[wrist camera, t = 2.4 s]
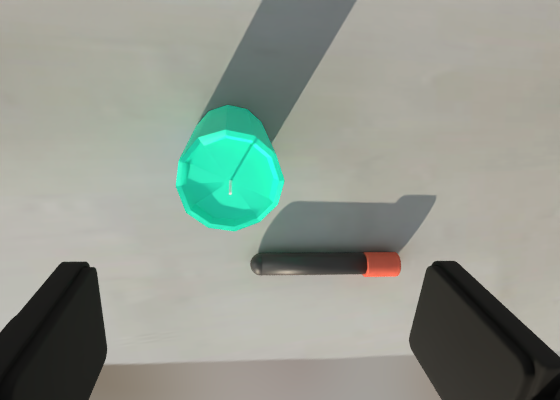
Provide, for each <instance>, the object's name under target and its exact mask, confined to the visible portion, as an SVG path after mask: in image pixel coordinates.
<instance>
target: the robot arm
mask: <svg viewBox="0 0 560 400" xmlns="http://www.w3.org/2000/svg"><path fill="white" fill-rule="evenodd" d="M409 343H410V347H411V349H412V351H413V353H414V355H415V356H416V358H417V360H418V361H419V363H420V365H421V366H422V368H423V369H424V371H425V373H426V374H427V376H428V378H429V379H430V381H431V383H432V384H433V386H434V387H435V389H436V391H437V393H438V394H439V396H440V398H441V399H442V400H560V357H559V356H558V355H557V354H556V353H555V352H554V351H553V350H551V349H550V348H549V347H548V346H547V345H546V344H545V343H544V342H543V341H542V340H541V339H540V338H538V337H537V336H536V335H535V334H534V333H533V332H532V331H531V330H530V329H529V328H528V327H527V326H525V325H524V324H523V323H522V322H521V321H520V320H519V319H518V318H517V317H516V316H515V315H514V314H512V313H511V312H510V311H509V310H508V309H507V308H506V307H505V306H504V305H503V304H502V303H501V302H499V301H498V300H497V299H496V298H495V297H494V296H493V295H492V294H491V293H490V292H489V291H488V290H486V289H485V288H484V287H483V286H482V285H481V284H480V283H479V282H478V281H477V280H476V279H475V278H474V277H472V276H471V275H470V274H469V273H468V272H467V271H466V270H465V269H464V268H463V267H462V266H461V265H459V264H458V263H457V262H455V261H435V262H433V264H432V265H431V266H429V267H428V268H427V270H426V273H425V277H424V281H423V285H422V289H421V293H420V297H419V301H418V305H417V309H416V313H415V317H414V321H413V325H412V329H411V333H410V337H409ZM106 354H107V343H106V336H105V329H104V321H103V314H102V307H101V299H100V292H99V285H98V277H97V271H96V269H95V268H94V267H90V266H89V264H88V263H87V262H62V263H61V264H60V265H59V266H58V267H57V268H56V269H55V271H54V272H53V273H52V274H51V275H50V276H49V278H48V279H47V280H46V281H45V282H44V284H43V285H42V286H41V287H40V288H39V290H38V291H37V292H36V293H35V294H34V296H33V297H32V298H31V299H30V300H29V301H28V303H27V304H26V305H25V306H24V307H23V309H22V310H21V311H20V312H19V313H18V315H16V316H15V317H14V318H13V319H12V320H10V322H9V323H8V324H7V325H6V326H5V327H4V329H3V330H2V331H1V332H0V400H89V397H90V395H91V393H92V390H93V388H94V386H95V383H96V381H97V379H98V376H99V374H100V372H101V369H102V367H103V364H104V362H105V359H106Z"/></svg>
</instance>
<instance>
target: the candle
mask: <svg viewBox="0 0 560 400" xmlns="http://www.w3.org/2000/svg"><path fill="white" fill-rule="evenodd" d="M283 184H284V177H283V174H282V171H281V168H280V165H279V162H278V159H277V156H276V153H275V151H274V149H273V147H272V144H271V142H270V140H269V138H268V136H267V133H266V131H265V129H264V127H263V124H262V122H261V121H260V120H259V119H258V118H256V117H255V116H254V115H253V114H252V113H251V112H250V111H249V110H248V109H245V108H240V107H236V106H231V105H225V106H222V107H219V108H216V109H213V110H210V111H208V113H207V114H206V115H205V116H204V117H203V119H202V120H201V121H200V122H199V123H198V125H197V126H196V128H195V130H194V132H193V134H192V136H191V138H190V139H189V141H188V143H187V145H186V147H185V149H184V151H183V153H182V155H181V157H180V159H179V162H178V171H177V180H176V188H177V191H178V193H179V196H180V198H181V201H182V203H183V206H184V208H185V211H186V213H187V214H189V215H190V216H192V217H193V218H195V219H196V220H198V221H199V222H201V223H202V224H204V225H205V226H207V227H208V228H214V229H222V230H229V231H237V230H240V229H242V228H245V227H248V226H250V225H253V224H256V223H258V222H260V221H261V220H262V219H263V218H264V217H265V216H266V215H267V214H268V213H270V212H271V211H272V210H273V209H274V208H275V207H276V206H277V205H278V202H279V199H280V195H281V192H282V188H283Z"/></svg>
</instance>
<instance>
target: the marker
mask: <svg viewBox="0 0 560 400" xmlns="http://www.w3.org/2000/svg"><path fill="white" fill-rule="evenodd" d="M251 269H252V271H253V272H254V273H255V274H257V275H332V274H362V275H363V276H365V277H379V276H398V275H399V273H400V271H401V261H400V257H399V255H398V254H397V253H396V252H363V253H259V254H256V255H255V256H254V257H253V258H252V260H251Z"/></svg>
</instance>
